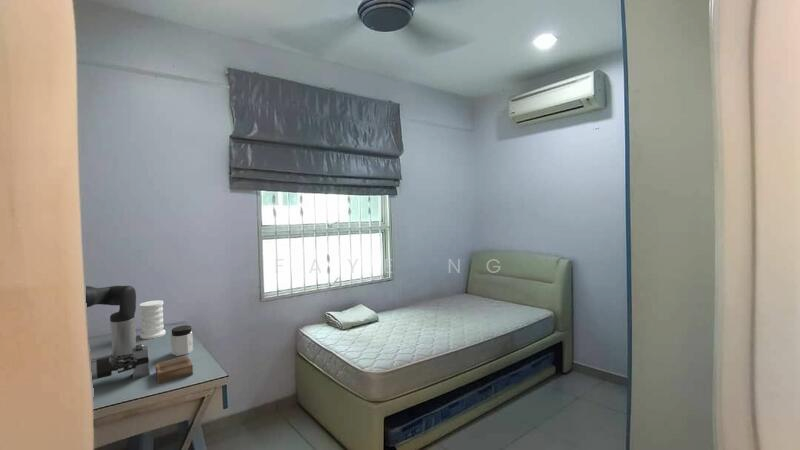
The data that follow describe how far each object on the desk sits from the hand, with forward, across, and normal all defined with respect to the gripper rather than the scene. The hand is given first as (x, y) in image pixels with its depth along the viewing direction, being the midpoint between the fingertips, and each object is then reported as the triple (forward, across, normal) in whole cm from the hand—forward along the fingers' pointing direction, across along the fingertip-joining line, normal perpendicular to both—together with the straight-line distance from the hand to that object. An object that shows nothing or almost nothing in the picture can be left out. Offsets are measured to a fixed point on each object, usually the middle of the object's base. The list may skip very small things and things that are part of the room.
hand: (147, 357), depth 152 cm
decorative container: (+5, +52, +7) cm, 53 cm away
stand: (+8, -8, +6) cm, 13 cm away
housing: (-3, 0, +6) cm, 7 cm away
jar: (+14, +15, +7) cm, 22 cm away
